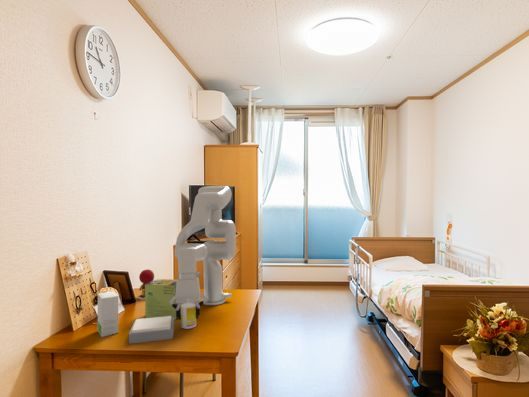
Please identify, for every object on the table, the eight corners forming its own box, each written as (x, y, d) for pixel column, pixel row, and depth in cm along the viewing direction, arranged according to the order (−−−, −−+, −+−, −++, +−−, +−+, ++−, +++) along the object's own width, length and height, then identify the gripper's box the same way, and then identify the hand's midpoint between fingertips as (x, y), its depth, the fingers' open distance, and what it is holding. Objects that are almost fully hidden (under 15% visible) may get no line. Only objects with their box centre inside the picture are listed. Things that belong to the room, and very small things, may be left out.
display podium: (174, 325, 142) (173, 314, 142) (173, 338, 128) (172, 327, 128) (134, 329, 138) (134, 318, 138) (128, 343, 125) (128, 331, 125)
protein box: (176, 320, 148) (175, 285, 148) (144, 318, 151) (144, 284, 151) (186, 312, 158) (185, 279, 158) (156, 310, 161) (156, 278, 161)
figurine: (158, 294, 187) (157, 268, 187) (148, 300, 177) (147, 272, 177) (144, 294, 189) (144, 267, 189) (134, 299, 179) (133, 271, 179)
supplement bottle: (199, 324, 143) (199, 294, 142) (191, 330, 136) (190, 299, 136) (186, 322, 145) (185, 293, 145) (177, 328, 138) (176, 297, 138)
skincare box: (97, 331, 137) (96, 293, 137) (114, 326, 141) (113, 290, 141) (101, 337, 131) (101, 298, 130) (119, 333, 135) (118, 294, 134)
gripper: (207, 272, 146) (208, 312, 146) (166, 275, 142) (167, 316, 142) (208, 276, 139) (209, 318, 139) (165, 279, 135) (166, 323, 135)
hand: (188, 317), depth 140 cm, fingers closed on supplement bottle, 6 cm apart
